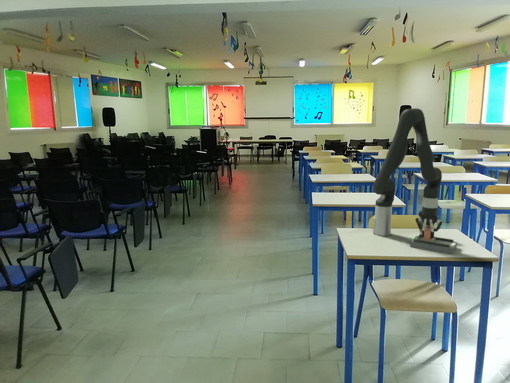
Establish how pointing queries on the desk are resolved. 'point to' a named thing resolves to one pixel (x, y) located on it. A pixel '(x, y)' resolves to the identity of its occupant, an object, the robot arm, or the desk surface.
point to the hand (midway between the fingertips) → (427, 237)
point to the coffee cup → (422, 223)
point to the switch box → (434, 244)
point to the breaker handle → (427, 235)
